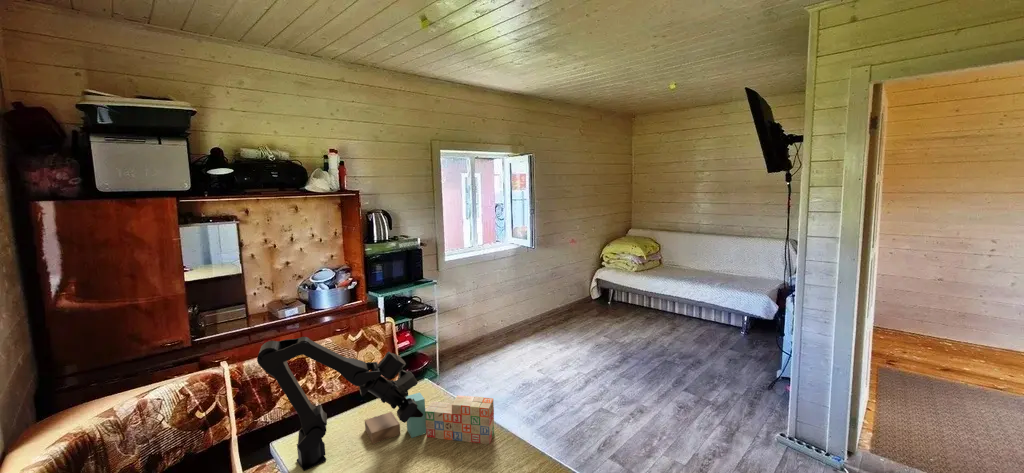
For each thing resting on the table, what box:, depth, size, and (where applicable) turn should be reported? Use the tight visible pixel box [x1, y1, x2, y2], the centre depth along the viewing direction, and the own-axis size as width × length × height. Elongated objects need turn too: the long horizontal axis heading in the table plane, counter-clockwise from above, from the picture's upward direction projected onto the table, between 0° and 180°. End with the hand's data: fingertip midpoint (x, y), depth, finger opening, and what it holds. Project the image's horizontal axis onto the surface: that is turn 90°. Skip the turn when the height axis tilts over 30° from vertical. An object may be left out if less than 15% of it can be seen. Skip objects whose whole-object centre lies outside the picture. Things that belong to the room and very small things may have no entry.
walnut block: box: [364, 411, 401, 445], centre depth 141 cm, size 9×9×4 cm
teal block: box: [405, 392, 426, 439], centre depth 140 cm, size 5×5×12 cm
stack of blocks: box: [425, 395, 495, 445], centre depth 138 cm, size 21×6×12 cm, turn 79°
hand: (419, 411), depth 141 cm, fingers closed on teal block, 5 cm apart
